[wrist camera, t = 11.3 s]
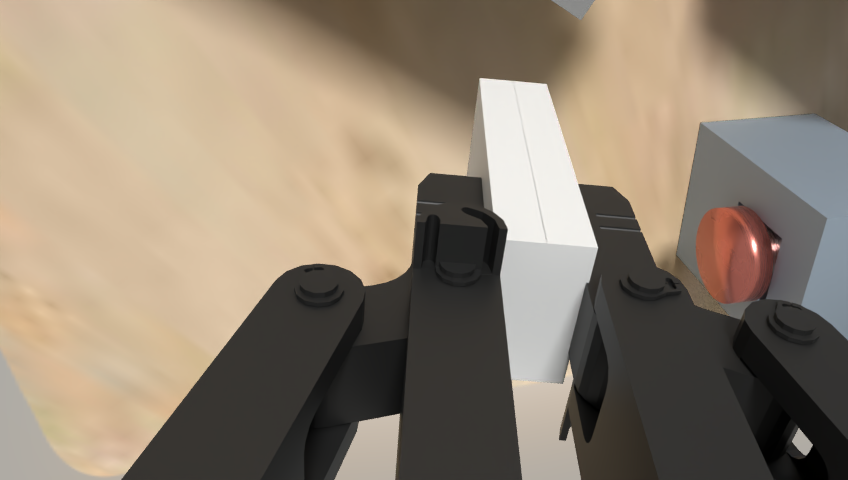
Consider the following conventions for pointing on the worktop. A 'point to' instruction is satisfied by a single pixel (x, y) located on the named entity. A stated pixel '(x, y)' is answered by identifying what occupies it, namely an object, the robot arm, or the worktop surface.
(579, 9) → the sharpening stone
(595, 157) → the worktop surface
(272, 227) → the worktop surface
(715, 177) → the grey rectangular block
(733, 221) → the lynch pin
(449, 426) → the robot arm
